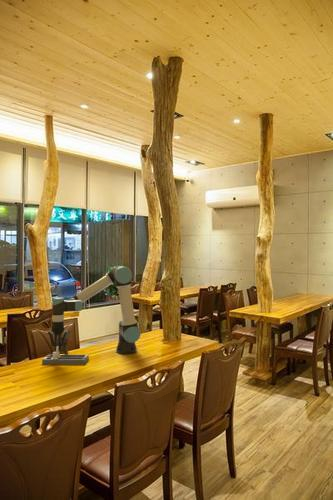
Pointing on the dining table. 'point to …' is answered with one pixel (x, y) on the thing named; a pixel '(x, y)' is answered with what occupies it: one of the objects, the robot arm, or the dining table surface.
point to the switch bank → (66, 359)
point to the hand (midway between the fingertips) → (57, 356)
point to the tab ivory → (54, 355)
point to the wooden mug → (64, 347)
